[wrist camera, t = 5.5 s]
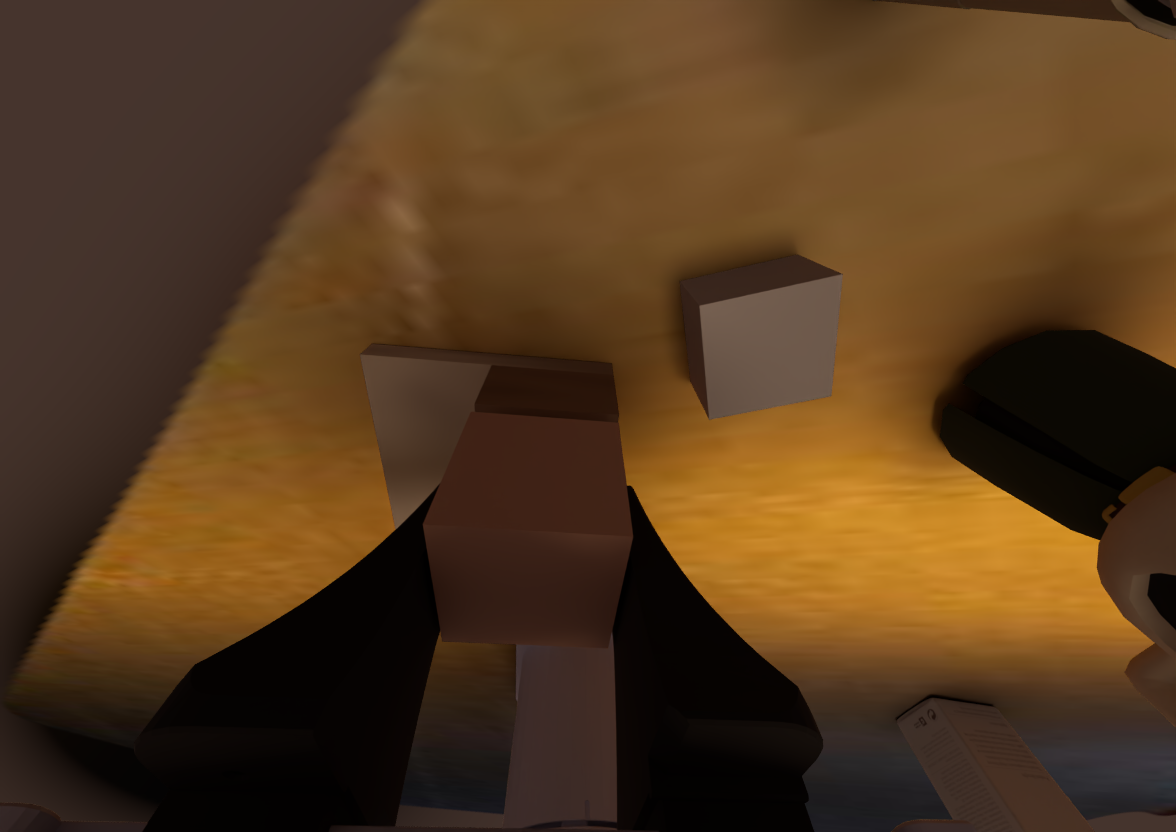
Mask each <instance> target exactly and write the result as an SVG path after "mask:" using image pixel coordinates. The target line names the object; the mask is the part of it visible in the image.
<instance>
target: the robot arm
mask: <svg viewBox="0 0 1176 832" xmlns="http://www.w3.org/2000/svg"><path fill="white" fill-rule="evenodd" d="M439 485H440V484H439ZM439 485H438V486H437V487H436V488H435V489H434V491H433V492H432V493H431V494H430V495H429V496H428V497H427V498H426V499H425V500H424V502H423V503H422V504H421V505H420V506H419V507H418V508H417V509H416V510H415V511H414V512H413V513H412V514H411V515H410V516H409V517H408V518H407V519H406V520H405V521H404V522H403V523H402V524H401V525H400V526H399V527H398V528H397V529H396V530H395V531H394V532H393V533H391V534H390V535H389V536H388V537H387V538H386V539H385V540H384V541H383V542H382V543H381V544H380V545H378V546H377V547H376V548H375V549H374V550H373V551H372V552H370V553H369V554H368V555H367V556H366V557H364V558H363V559H362V560H361V561H360V562H358V563H357V564H356V565H355V566H353V567H352V568H351V569H350V570H348V571H347V572H346V573H344V574H343V575H342V576H340V577H339V578H338V579H336V580H335V581H334V582H332V583H331V584H329V585H328V586H327V587H325V588H324V589H323V590H321V591H320V592H318V593H317V594H315V595H314V596H313V597H311V598H310V599H308V600H307V601H305V602H304V603H302V604H301V605H299V606H297V607H296V608H294V609H293V610H291V611H289V612H288V613H286V614H285V615H283V616H281V617H280V618H278V619H277V620H275V621H273V622H272V623H270V624H268V625H267V626H265V627H263V628H262V629H260V630H258V631H256V632H255V633H253V634H251V635H249V636H248V637H246V638H244V639H242V640H240V641H238V642H236V643H235V644H233V645H231V646H229V647H227V648H225V649H223V650H222V651H220V652H218V653H216V654H214V655H212V656H211V657H209V658H207V659H205V660H203V661H201V662H199V663H197V664H195V665H194V666H193V667H192V669H191V670H190V671H189V672H188V673H187V674H186V676H185V677H184V678H183V679H182V680H181V681H180V683H179V684H178V685H177V686H176V688H175V689H174V690H173V692H172V693H171V694H170V696H169V697H168V698H167V700H166V701H165V702H164V703H163V705H162V706H161V707H160V709H159V710H158V711H157V713H156V714H155V715H154V717H153V718H152V719H151V721H150V722H149V723H148V724H147V726H146V727H145V728H144V730H143V731H142V732H141V734H140V735H139V736H138V738H137V739H136V740H135V742H134V750H135V756H136V757H137V758H138V760H139V761H140V762H141V763H142V764H143V765H144V766H145V767H146V768H147V769H148V770H149V771H151V773H153V774H154V775H155V776H156V777H157V778H158V779H159V780H160V781H161V782H162V783H164V784H165V785H166V786H167V787H168V788H169V789H170V790H169V791H168V793H167V794H166V796H165V797H164V799H163V800H162V802H161V803H160V805H159V807H158V808H157V810H156V811H155V813H154V814H153V816H152V817H151V819H150V820H149V822H98V821H95V822H94V821H92V822H91V821H61V819H60V817H59V816H58V815H57V814H56V813H54V812H53V811H51V810H49V809H47V808H45V807H42V806H38V805H34V804H27V803H5V802H0V832H814V830H813V827H812V824H811V821H810V818H809V815H808V812H807V809H806V807H805V804H804V803H807V802H808V801H809V798H808V793H807V790H806V787H805V784H804V781H803V779H802V775H803V774H804V773H805V772H806V771H807V770H808V768H809V767H810V766H811V765H812V764H813V763H814V762H815V761H816V759H817V758H818V756H819V755H820V753H821V751H822V749H823V739H822V736H821V734H820V732H819V729H818V727H817V724H816V722H815V720H814V717H813V715H812V713H811V711H810V709H809V707H808V705H807V703H806V701H805V699H804V698H803V696H802V694H801V692H800V690H799V688H798V686H796V685H795V684H794V683H793V682H792V681H790V680H789V679H788V678H787V677H786V676H784V675H783V674H782V673H781V672H780V671H778V670H777V669H776V668H775V667H774V666H772V665H771V664H770V663H769V662H768V661H766V660H765V659H764V658H763V657H762V656H760V655H759V654H758V653H757V652H756V651H755V650H754V649H753V648H752V647H751V646H750V645H748V644H747V643H746V642H745V641H744V640H743V639H742V638H741V637H740V636H739V635H738V634H737V633H736V632H735V631H734V630H733V629H732V628H731V627H730V626H729V625H728V624H727V623H726V622H725V621H724V620H723V618H722V617H721V616H720V615H719V614H718V613H717V612H716V611H715V610H714V609H713V608H712V607H711V606H710V605H709V603H708V602H707V601H706V600H705V599H704V598H703V596H702V595H701V594H700V593H699V592H698V591H697V589H696V588H695V587H694V586H693V584H692V583H691V582H690V581H689V579H688V578H687V577H686V575H685V574H684V573H683V571H682V570H681V569H680V567H679V566H678V564H677V563H676V562H675V560H674V559H673V557H672V556H671V554H670V553H669V551H668V550H667V548H666V547H665V545H664V544H663V542H662V541H661V539H660V537H659V536H658V534H657V532H656V531H655V529H654V527H653V526H652V524H651V522H650V520H649V519H648V517H647V515H646V513H645V511H644V509H643V507H642V505H641V503H640V501H639V499H638V497H637V495H636V493H635V491H634V489H633V488H632V487H631V486H627V493H628V500H629V508H630V516H631V524H632V531H633V540H632V544H631V549H630V553H629V558H628V562H627V567H626V571H625V576H624V580H623V584H622V589H621V593H620V598H619V602H618V607H617V611H616V616H615V620H614V625H613V629H612V633H611V638H610V642H609V647H608V648H587V647H563V646H539V645H516V701H517V710H516V718H515V726H514V735H513V743H512V751H511V760H510V768H509V776H508V785H507V793H506V801H505V810H504V819H503V826H502V828H465V827H462V828H461V827H404V826H403V827H402V826H401V827H400V826H399V827H397V826H395V824H396V819H397V813H398V809H399V804H400V799H401V794H402V790H403V785H404V780H405V775H406V770H407V765H408V761H409V756H410V752H411V747H412V743H413V738H414V734H415V729H416V725H417V720H418V716H419V712H420V708H421V703H422V699H423V695H424V691H425V686H426V682H427V678H428V674H429V670H430V666H431V662H432V658H433V654H434V650H435V646H436V643H437V639H438V636H439V633H440V625H439V619H438V613H437V607H436V601H435V595H434V589H433V583H432V577H431V571H430V565H429V559H428V553H427V547H426V541H425V535H424V529H423V523H424V520H425V518H426V516H427V513H428V511H429V509H430V506H431V504H432V502H433V499H434V497H435V495H436V492H437V490H438V488H439ZM892 832H977V830H976V828H975V827H974V825H973V824H972V823H970V822H968V821H966V820H912V821H908V822H904V823H902V824H900V825H898V826H897V827H896V828H895V829H894V830H893V831H892Z"/></svg>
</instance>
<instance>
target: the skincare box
mask: <svg viewBox="0 0 1176 832" xmlns="http://www.w3.org/2000/svg"><path fill="white" fill-rule="evenodd" d="M897 723H898V726H899V728H900V730H901V731H902V733H903V735H904V737H905V738H906V740H907V742H908V743H909V745H910V747H911V749H912V750H913V752H914V754H915V755H916V757H917V759H918V761H919V762H920V764H921V766H922V767H923V769H924V771H925V772H926V774H927V776H928V778H929V779H930V781H931V783H932V784H933V786H934V788H935V789H936V791H937V793H938V794H939V796H940V798H941V800H942V801H943V803H944V805H945V806H946V808H947V810H948V812H949V813H950V815H951V817H952V818H953V820H966V821H968V822H970V823H972V824H973V825H974V827H975V828H976V830H977V832H1095V831H1094V830H1093V829H1092V827H1091V826H1090V825H1089V824H1088V822H1087V821H1086V820H1085V819H1084V817H1083V816H1082V815H1081V814H1080V812H1079V811H1078V810H1077V808H1076V807H1075V806H1074V805H1073V803H1072V802H1071V801H1070V800H1069V798H1068V797H1067V796H1066V795H1065V793H1064V792H1063V791H1062V790H1061V788H1060V787H1059V786H1058V785H1057V783H1056V782H1055V781H1054V779H1053V778H1052V777H1051V776H1050V774H1049V773H1048V772H1047V771H1046V770H1045V768H1044V767H1043V766H1042V764H1041V763H1040V762H1039V761H1038V760H1037V758H1036V757H1035V756H1034V754H1033V753H1032V752H1031V751H1030V749H1029V748H1028V747H1027V746H1026V744H1025V743H1024V742H1023V740H1022V739H1021V738H1020V737H1019V735H1018V734H1017V733H1016V732H1015V730H1014V729H1013V728H1012V727H1011V725H1010V724H1009V723H1008V722H1007V720H1006V719H1005V718H1004V717H1003V715H1002V714H1001V713H1000V712H999V710H998V709H997V708H996V707H992V706H986V705H979V704H973V703H966V702H959V701H953V700H946V699H940V698H929V699H927V700H925V701H923V702H921V703H920V704H918V705H917V706H915V707H914V708H912V709H911V710H909V711H908V712H906V713H905V714H904V715H902V716H901V717H900V718H899V719H897Z"/></svg>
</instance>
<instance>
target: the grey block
mask: <svg viewBox="0 0 1176 832" xmlns="http://www.w3.org/2000/svg"><path fill="white" fill-rule="evenodd" d="M842 276H843V274H841V273H839V272H836V271H834V270H832V269H830V268H827V267H825V266H823V265H820V264H818V263H816V262H814V261H811V260H809V259H807V258H805V257H802V256H800V255H793V256H789V257H785V258H780V259H776V260H771V261H767V262H762V263H758V264H754V265H749V266H745V267H740V268H736V269H732V270H727V271H723V272H718V273H714V274H709V275H705V276H701V277H696V278H692V279H687V280H683V281H680V290H681V299H682V308H683V318H684V327H685V336H686V346H687V355H688V364H689V374H690V382H691V384H692V386H693V388H694V390H695V392H696V394H697V396H698V398H699V400H700V402H701V404H702V406H703V408H704V410H705V412H706V414H707V416H708V418H709V420H710V419H715V418H720V417H725V416H731V415H736V414H741V413H746V412H751V411H757V410H762V409H767V408H772V407H777V406H783V405H788V404H793V403H798V402H803V401H809V400H814V399H819V398H824V397H829V396H831V393H832V383H833V372H834V361H835V351H836V340H837V329H838V319H839V308H840V297H841V287H842Z"/></svg>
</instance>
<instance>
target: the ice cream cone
mask: <svg viewBox="0 0 1176 832" xmlns="http://www.w3.org/2000/svg"><path fill="white" fill-rule="evenodd" d="M873 1H886V2H897V3H908V4H918V5H929V6H940V7H951V8H963V9H971V8H975V9H986V10H998V11H1009V12H1020V13H1032V14H1043V15H1054V16H1066V17H1077V18H1088V19H1100V20H1111V21H1122V22H1130V23H1132V24H1133V25H1134V26H1135V27H1136V28H1138V29H1141V30H1144V31H1146V32H1149V33H1152V34H1155V35H1157V36H1160V37H1163V38H1165V39H1176V0H873Z"/></svg>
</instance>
